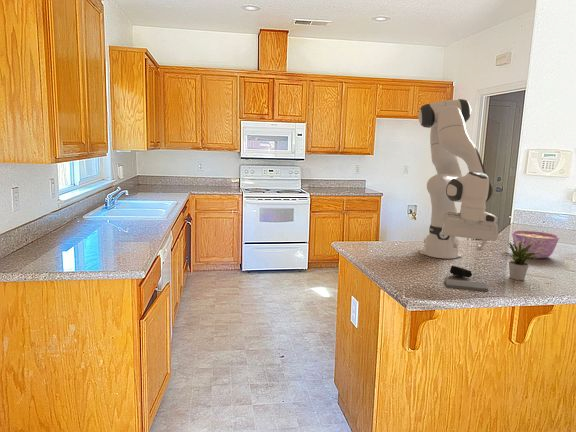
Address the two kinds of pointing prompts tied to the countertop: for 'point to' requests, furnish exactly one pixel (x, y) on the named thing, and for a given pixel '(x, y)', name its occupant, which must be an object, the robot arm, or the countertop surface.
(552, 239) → the bowl of food
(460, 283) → the gray rectangular block
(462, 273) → the tape measure
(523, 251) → the house plant
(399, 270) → the countertop surface
